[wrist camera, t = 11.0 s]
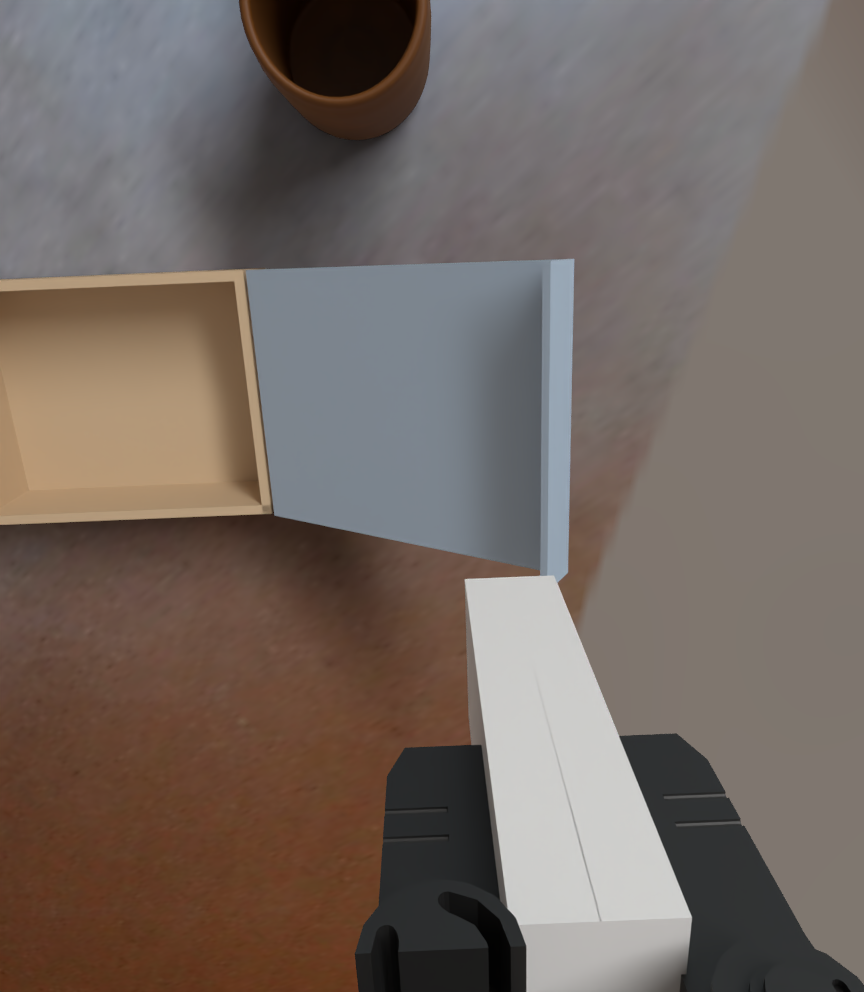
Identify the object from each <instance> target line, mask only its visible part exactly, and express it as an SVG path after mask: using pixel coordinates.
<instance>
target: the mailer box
mask: <svg viewBox="0 0 864 992" xmlns="http://www.w3.org/2000/svg"><path fill="white" fill-rule="evenodd" d="M259 269H265V268H254V269H230V270H207V271H184V272H161V273H138V274H115V275H91V276H68V277H45V278H22V279H0V525H9V524H34V523H58V522H82V521H106V520H131V519H155V518H179V517H203V516H227V515H252V514H272V513H273V511H274V508H273V499H272V490H271V482H270V473H269V465H268V456H267V448H266V439H265V431H264V422H263V414H262V405H261V397H260V388H259V380H258V371H257V363H256V354H255V346H254V337H253V329H252V320H251V312H250V303H249V295H248V286H247V278H246V270H259Z"/></svg>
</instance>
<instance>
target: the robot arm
mask: <svg viewBox="0 0 864 992" xmlns="http://www.w3.org/2000/svg"><path fill="white" fill-rule="evenodd" d="M465 604H466V638H467V673H468V707H469V724H470V734H471V744H472V745H461V746H438V747H415V748H405V749H404V750H403V752H402V753H401V755H400V757H399V758H398V760H397V761H396V763H395V765H394V766H393V768H392V769H391V771H390V772H389V774H388V776H387V787H386V802H385V817H384V833H383V848H382V863H381V879H380V894H379V906H378V908H377V909H376V910H375V911H374V913H373V914H372V915H371V916H370V918H369V919H368V920H367V921H366V922H365V924H364V926H363V929H362V932H361V935H360V939H359V942H358V945H357V949H356V952H355V960H356V970H357V979H358V989H359V992H864V985H863V983H862V982H861V981H860V980H859V979H858V977H857V976H855V975H854V974H853V973H851V972H850V971H849V970H847V969H846V968H845V967H843V966H842V965H840V964H839V963H838V962H837V961H835V960H834V959H832V958H831V957H830V956H829V955H827V954H825V953H823V952H821V951H818V950H816V949H814V947H813V946H812V944H811V943H810V941H809V940H808V938H807V937H806V935H805V934H804V932H803V931H802V928H801V927H800V925H799V923H798V921H797V919H796V918H795V916H794V914H793V912H792V910H791V909H790V907H789V905H788V903H787V901H786V900H785V898H784V896H783V894H782V892H781V891H780V889H779V887H778V885H777V883H776V882H775V880H774V878H773V876H772V875H771V873H770V871H769V869H768V867H767V866H766V864H765V862H764V860H763V859H762V857H761V855H760V853H759V851H758V849H757V848H756V846H755V844H754V842H753V840H752V839H751V837H750V835H749V833H748V832H747V830H746V828H745V826H742V825H741V822H740V817H739V816H738V814H737V812H736V810H735V808H734V807H733V805H732V803H731V801H730V799H729V798H726V795H725V790H724V789H723V787H722V785H721V783H720V781H719V779H718V778H717V776H716V774H715V772H714V771H713V769H712V767H711V765H710V763H709V762H708V760H707V759H706V758H705V757H704V756H703V755H701V754H700V753H699V752H698V751H696V750H695V749H694V748H693V747H691V745H689V744H688V743H687V742H686V741H685V740H683V739H682V738H681V737H680V736H679V735H678V734H656V735H632V736H619V735H618V733H617V731H616V728H615V725H614V723H613V721H612V718H611V716H610V713H609V711H608V708H607V706H606V703H605V701H604V698H603V696H602V693H601V691H600V688H599V686H598V683H597V681H596V679H595V676H594V673H593V671H592V668H591V666H590V663H589V661H588V658H587V656H586V653H585V651H584V649H583V646H582V644H581V641H580V639H579V636H578V634H577V631H576V629H575V626H574V624H573V621H572V619H571V616H570V614H569V611H568V609H567V606H566V604H565V601H564V599H563V596H562V594H561V591H560V589H559V587H558V584H557V582H556V579H555V577H554V575H551V576H528V577H504V578H481V579H465Z"/></svg>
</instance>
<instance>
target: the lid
mask: <svg viewBox="0 0 864 992" xmlns="http://www.w3.org/2000/svg"><path fill="white" fill-rule="evenodd" d="M246 278H247V286H248V295H249V303H250V312H251V320H252V329H253V337H254V346H255V354H256V363H257V371H258V380H259V388H260V397H261V405H262V414H263V422H264V431H265V439H266V448H267V456H268V465H269V473H270V482H271V490H272V499H273V508H274V516H279V517H284V518H289V519H294V520H299V521H303V522H308V523H313V524H318V525H323V526H328V527H333V528H337V529H342V530H347V531H352V532H357V533H362V534H367V535H371V536H376V537H381V538H386V539H391V540H396V541H401V542H405V543H410V544H415V545H420V546H425V547H430V548H435V549H439V550H444V551H449V552H454V553H459V554H464V555H469V556H473V557H478V558H483V559H488V560H493V561H498V562H503V563H508V564H512V565H517V566H522V567H527V568H532V569H537V570H540V576H551V575H554V577H555V579H556V582H557V583H558V582H559V581H560V580H561V579H562V578H563V577H564V576H565V575H566V574H567V573H568V540H569V491H570V443H571V394H572V345H573V296H574V259H558V260H528V261H498V262H468V263H438V264H409V265H379V266H349V267H319V268H289V269H259V270H246Z"/></svg>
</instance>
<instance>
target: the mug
mask: <svg viewBox="0 0 864 992" xmlns="http://www.w3.org/2000/svg"><path fill="white" fill-rule="evenodd" d="M239 6H240V12H241V19H242V23H243V26H244V30H245V33H246V36H247V39H248V41H249V44H250V46H251V48H252V50H253V52H254V54H255V56H256V58H257V60H258V62H259V63H260V65H261V67H262V69H263V71H264V72H265V73H266V75H267V76H268V78H269V79H270V81H271V82H272V83H273V84H274V86H275V87H276V88H277V89H278V90H279V91H280V92H281V94H282V95H283V96H284V97H285V98H286V99H287V100H288V101H289V102H290V103H291V105H292V106H293V107H294V108H295V109H297V110H298V111H299V112H300V114H301V115H302V116H303V117H304V118H306V119H307V120H308V121H309V122H310V123H311V124H313V125H314V126H316V127H317V128H318V129H320V130H322V131H324V132H326V133H328V134H330V135H333V136H335V137H338V138H343V139H348V140H364V139H370V138H374V137H378V136H380V135H383V134H385V133H387V132H389V131H390V130H392V129H394V128H395V127H396V126H398V125H399V124H400V123H401V122H403V121H404V119H405V118H406V117H407V116H408V115H409V114H410V113H411V111H412V110H413V109H414V107H415V106H416V104H417V102H418V100H419V99H420V97H421V94H422V92H423V89H424V86H425V83H426V79H427V75H428V69H429V61H430V41H431V7H430V0H239Z"/></svg>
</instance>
